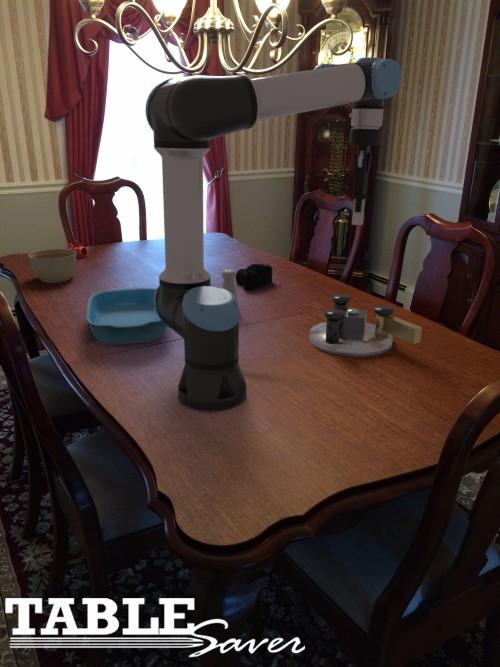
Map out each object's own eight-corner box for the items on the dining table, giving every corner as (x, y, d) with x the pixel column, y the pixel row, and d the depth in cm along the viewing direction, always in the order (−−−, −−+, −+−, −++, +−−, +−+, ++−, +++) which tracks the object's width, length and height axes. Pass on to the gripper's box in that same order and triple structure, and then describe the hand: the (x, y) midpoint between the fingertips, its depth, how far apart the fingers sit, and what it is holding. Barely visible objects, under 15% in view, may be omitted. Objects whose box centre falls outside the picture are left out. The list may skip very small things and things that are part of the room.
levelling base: (390, 361, 137) (394, 323, 134) (302, 351, 143) (304, 314, 139) (393, 331, 157) (397, 297, 153) (316, 323, 163) (318, 290, 159)
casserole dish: (91, 309, 173) (89, 287, 171) (163, 305, 178) (162, 283, 175) (86, 355, 140) (84, 329, 137) (175, 348, 145) (174, 322, 142)
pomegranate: (60, 262, 229) (57, 239, 226) (83, 258, 235) (81, 237, 231) (68, 267, 222) (66, 243, 218) (92, 263, 228) (90, 240, 224)
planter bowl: (71, 275, 210) (68, 246, 206) (85, 285, 198) (82, 255, 194) (27, 281, 202) (23, 251, 198) (38, 291, 189) (34, 260, 185)
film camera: (254, 280, 206) (254, 256, 203) (275, 285, 200) (276, 261, 197) (227, 289, 195) (227, 264, 192) (249, 294, 189) (249, 269, 186)
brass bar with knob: (367, 334, 148) (369, 307, 145) (381, 331, 150) (384, 304, 148) (408, 353, 136) (411, 323, 133) (423, 349, 139) (426, 320, 136)
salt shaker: (235, 314, 169) (236, 273, 165) (217, 313, 170) (217, 272, 166) (240, 308, 175) (240, 268, 170) (222, 307, 176) (222, 267, 171)
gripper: (354, 127, 143) (346, 219, 152) (346, 127, 132) (339, 227, 140) (383, 128, 141) (374, 221, 150) (378, 128, 130) (369, 229, 138)
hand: (357, 224), depth 145 cm, fingers closed
